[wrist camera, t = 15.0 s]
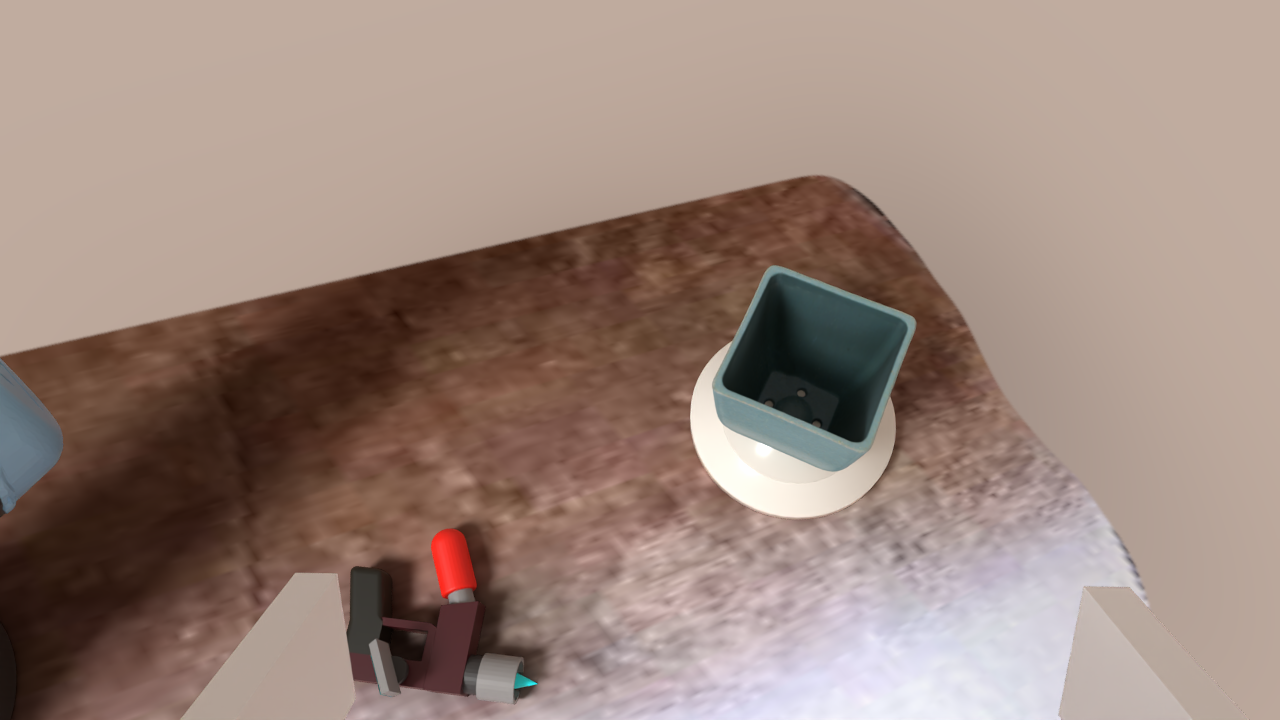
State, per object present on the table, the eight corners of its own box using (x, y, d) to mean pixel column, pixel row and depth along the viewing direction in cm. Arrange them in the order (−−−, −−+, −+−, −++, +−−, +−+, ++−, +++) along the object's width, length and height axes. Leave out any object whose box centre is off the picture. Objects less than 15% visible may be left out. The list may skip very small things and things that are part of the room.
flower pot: (882, 384, 52) (921, 316, 44) (836, 505, 48) (869, 455, 40) (755, 334, 54) (770, 260, 46) (702, 447, 50) (708, 389, 42)
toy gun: (536, 717, 45) (521, 713, 41) (332, 690, 46) (296, 683, 42) (564, 546, 49) (553, 526, 45) (376, 524, 50) (348, 503, 46)
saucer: (653, 454, 51) (652, 448, 50) (748, 303, 56) (749, 294, 55) (838, 559, 48) (842, 555, 47) (923, 389, 53) (928, 381, 52)
